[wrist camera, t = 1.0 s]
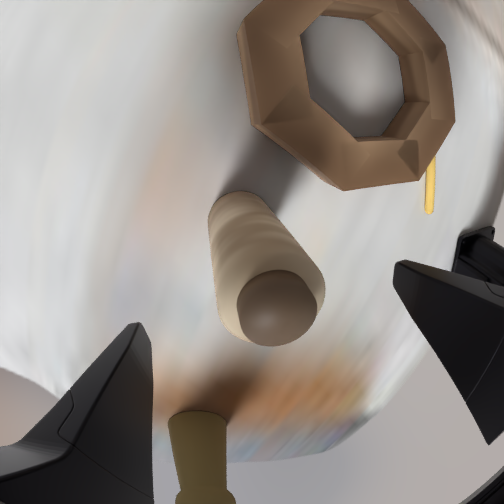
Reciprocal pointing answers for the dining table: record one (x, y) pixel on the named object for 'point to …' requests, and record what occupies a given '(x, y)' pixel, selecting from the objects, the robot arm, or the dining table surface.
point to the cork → (200, 457)
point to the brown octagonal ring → (319, 121)
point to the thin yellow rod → (430, 187)
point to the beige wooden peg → (261, 273)
